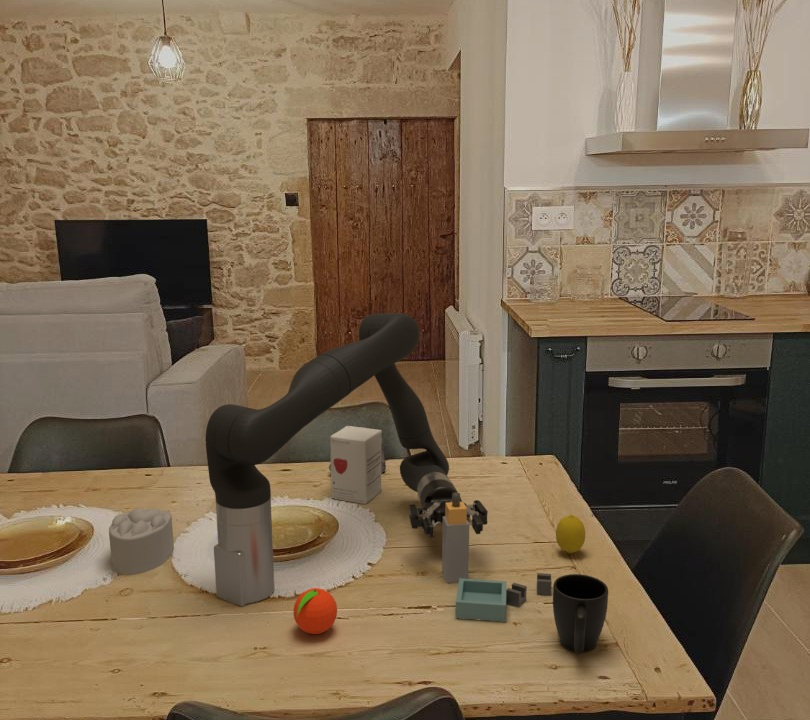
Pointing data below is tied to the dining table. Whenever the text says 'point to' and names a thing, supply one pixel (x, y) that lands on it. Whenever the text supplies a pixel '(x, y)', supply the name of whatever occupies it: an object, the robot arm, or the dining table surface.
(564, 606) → the mug
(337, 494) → the supplement box
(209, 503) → the dining table surface
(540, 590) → the cable clips
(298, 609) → the clementine
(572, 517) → the lemon
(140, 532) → the lumpy-topped squat cylinder
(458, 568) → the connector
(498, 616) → the box
